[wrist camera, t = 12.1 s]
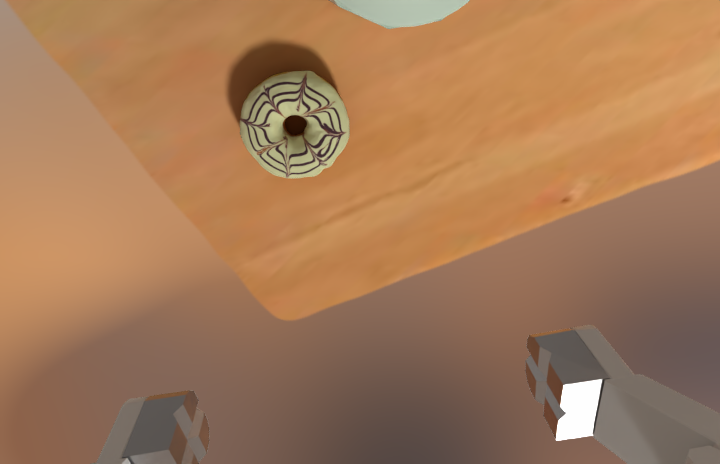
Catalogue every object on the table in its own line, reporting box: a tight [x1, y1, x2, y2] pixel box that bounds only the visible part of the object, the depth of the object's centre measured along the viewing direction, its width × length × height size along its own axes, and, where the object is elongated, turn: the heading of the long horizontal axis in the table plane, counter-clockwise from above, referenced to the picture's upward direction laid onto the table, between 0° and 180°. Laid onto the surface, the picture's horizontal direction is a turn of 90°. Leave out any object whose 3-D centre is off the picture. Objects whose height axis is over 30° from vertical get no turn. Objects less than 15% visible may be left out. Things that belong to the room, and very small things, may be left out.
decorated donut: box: [240, 71, 350, 179], centre depth 46 cm, size 10×11×4 cm
